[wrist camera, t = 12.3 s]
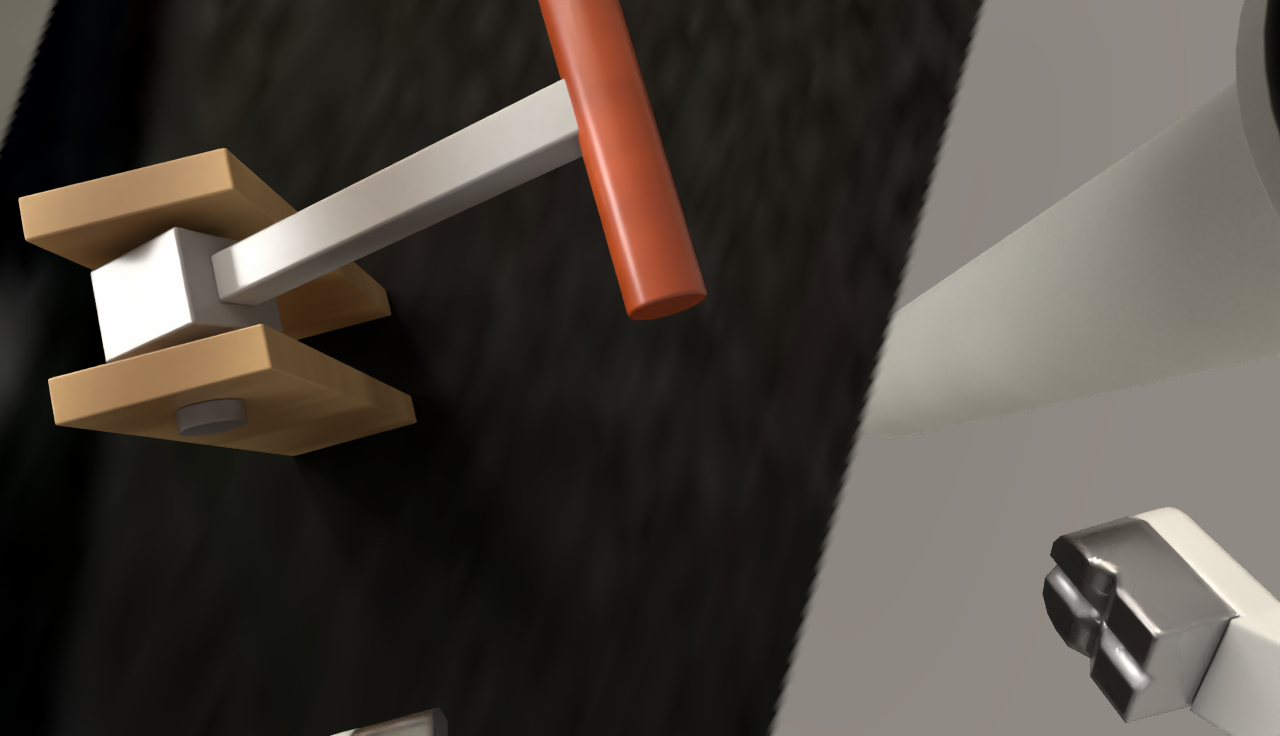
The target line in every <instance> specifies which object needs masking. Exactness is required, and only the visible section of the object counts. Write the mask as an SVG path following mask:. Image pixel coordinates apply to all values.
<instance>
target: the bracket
mask: <svg viewBox="0 0 1280 736" xmlns="http://www.w3.org/2000/svg"><path fill="white" fill-rule="evenodd" d="M19 205H20V211H21V217H22V223H23V229H24V235H25V239H26V241H28V242H30V243H32V244H35V245H37V246H39V247H42V248H44V249H46V250H48V251H51V252H53V253H55V254H58V255H60V256H62V257H65V258H67V259H69V260H72V261H74V262H76V263H78V264H81V265H83V266H85V267H88V268H90V269H92V270H95V269H97V268H99V267H100V266H102V265H104V264H106V263H108V262H110V261H112V260H114V259H116V258H117V257H119V256H121V255H123V254H125V253H127V252H129V251H131V250H132V249H134V248H136V247H138V246H140V245H142V244H144V243H146V242H148V241H149V240H151V239H153V238H155V237H157V236H159V235H161V234H163V233H164V232H166V231H168V230H170V229H172V228H174V227H178V228H183V229H187V230H191V231H196V232H200V233H205V234H209V235H213V236H218V237H222V238H227V239H231V240H235V241H242V240H244V239H246V238H247V237H249V236H251V235H253V234H255V233H257V232H259V231H261V230H263V229H265V228H267V227H269V226H271V225H273V224H275V223H277V222H279V221H281V220H283V219H285V218H287V217H289V216H291V215H293V214H295V213H297V211H296V210H295V209H294V208H293V207H291V206H290V205H289V204H288V203H287V202H286V201H285V200H284V199H282V198H281V197H280V196H279V195H278V194H277V193H276V192H275V191H273V190H272V189H271V188H270V187H269V186H268V185H267V184H265V183H264V182H263V181H262V180H261V179H260V178H259V177H258V176H256V175H255V174H254V173H253V172H252V171H251V170H250V169H249V168H247V167H246V166H245V165H244V164H243V163H242V162H241V161H240V160H238V159H237V158H236V157H235V156H234V155H233V154H232V153H231V152H229V151H228V150H227V149H226V148H222V149H218V150H214V151H210V152H205V153H201V154H197V155H193V156H189V157H185V158H181V159H177V160H173V161H169V162H164V163H160V164H156V165H152V166H148V167H144V168H140V169H136V170H132V171H128V172H124V173H119V174H115V175H111V176H107V177H103V178H99V179H95V180H91V181H87V182H83V183H78V184H74V185H70V186H66V187H62V188H58V189H54V190H50V191H46V192H42V193H38V194H33V195H29V196H25V197H21V198H19ZM276 300H277V305H278V310H279V314H280V319H281V324H282V329H283V332H282V333H280V332H278V331H276V330H274V329H272V328H270V327H268V326H266V325H264V324H258V325H254V326H250V327H246V328H242V329H239V330H235V331H231V332H227V333H223V334H219V335H215V336H212V337H208V338H204V339H200V340H196V341H192V342H189V343H185V344H181V345H177V346H173V347H169V348H165V349H162V350H158V351H154V352H150V353H146V354H142V355H138V356H135V357H131V358H127V359H123V360H119V361H115V362H112V363H108V364H104V365H100V366H96V367H92V368H88V369H85V370H81V371H77V372H73V373H69V374H65V375H62V376H58V377H54V378H50V379H49V381H48V382H49V388H50V394H51V400H52V406H53V412H54V418H55V423H56V425H60V426H68V427H75V428H83V429H91V430H98V431H106V432H114V433H121V434H129V435H137V436H144V437H152V438H160V439H167V440H175V441H183V442H190V443H198V444H206V445H213V446H221V447H229V448H236V449H244V450H252V451H260V452H267V453H275V454H283V455H290V456H296V455H299V454H303V453H307V452H310V451H314V450H318V449H322V448H325V447H329V446H333V445H336V444H340V443H344V442H347V441H351V440H355V439H358V438H362V437H366V436H369V435H373V434H377V433H380V432H384V431H388V430H391V429H395V428H399V427H402V426H406V425H410V424H413V423H416V422H417V421H416V416H415V412H414V408H413V404H412V399H411V396H409V395H407V394H405V393H403V392H401V391H399V390H397V389H395V388H393V387H391V386H389V385H387V384H385V383H383V382H381V381H379V380H377V379H375V378H373V377H371V376H368V375H366V374H364V373H362V372H360V371H358V370H356V369H354V368H352V367H350V366H348V365H346V364H344V363H342V362H340V361H338V360H336V359H334V358H332V357H330V356H327V355H325V354H323V353H321V352H319V351H317V350H315V349H313V348H311V347H309V346H307V345H305V344H303V343H301V342H299V341H297V340H298V339H302V338H306V337H310V336H314V335H317V334H321V333H325V332H329V331H333V330H336V329H340V328H344V327H348V326H352V325H355V324H359V323H363V322H367V321H371V320H375V319H378V318H382V317H386V316H390V315H391V310H390V306H389V302H388V298H387V293H386V290H385V289H384V288H383V287H382V286H381V285H379V284H378V283H377V282H376V281H375V280H374V279H373V278H371V277H370V276H369V275H368V274H367V273H366V272H365V271H364V270H362V269H361V268H360V267H359V266H358V265H357V264H356V263H355V262H351V263H348V264H346V265H344V266H342V267H340V268H337V269H335V270H333V271H331V272H329V273H327V274H324V275H322V276H320V277H318V278H316V279H314V280H311V281H309V282H307V283H305V284H303V285H300V286H298V287H296V288H294V289H292V290H290V291H287V292H285V293H283V294H281V295H279V296H276Z"/></svg>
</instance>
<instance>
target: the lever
mask: <svg viewBox="0 0 1280 736" xmlns="http://www.w3.org/2000/svg"><path fill="white" fill-rule="evenodd" d="M539 4H540V7H541V11H542V15H543V18H544V22H545V25H546V29H547V32H548V36H549V39H550V43H551V46H552V50H553V53H554V57H555V60H556V64H557V67H558V71H559V74H560V78H561V80H560V81H558V82H556V83H554V84H552V85H550V86H548V87H546V88H544V89H542V90H540V91H538V92H536V93H534V94H532V95H530V96H528V97H526V98H524V99H522V100H520V101H518V102H516V103H514V104H512V105H510V106H508V107H506V108H504V109H502V110H500V111H498V112H496V113H494V114H492V115H490V116H488V117H486V118H484V119H482V120H480V121H479V122H477V123H475V124H473V125H471V126H469V127H467V128H465V129H463V130H461V131H459V132H457V133H455V134H453V135H451V136H449V137H447V138H445V139H443V140H441V141H439V142H437V143H435V144H433V145H431V146H429V147H427V148H425V149H423V150H421V151H419V152H417V153H415V154H413V155H411V156H409V157H407V158H405V159H403V160H401V161H399V162H397V163H395V164H393V165H391V166H389V167H387V168H385V169H383V170H381V171H379V172H377V173H375V174H373V175H371V176H369V177H367V178H365V179H363V180H361V181H359V182H357V183H355V184H353V185H351V186H349V187H347V188H345V189H343V190H341V191H339V192H337V193H335V194H333V195H331V196H329V197H327V198H325V199H323V200H321V201H319V202H317V203H315V204H313V205H311V206H309V207H307V208H305V209H303V210H301V211H299V212H297V213H295V214H293V215H291V216H289V217H287V218H285V219H283V220H281V221H279V222H277V223H275V224H273V225H271V226H269V227H267V228H265V229H263V230H261V231H259V232H257V233H255V234H253V235H251V236H249V237H247V238H246V239H244V240H242V241H235V240H231V239H227V238H222V237H218V236H213V235H209V234H205V233H200V232H196V231H191V230H187V229H183V228H178V227H174V228H172V229H170V230H168V231H166V232H164V233H163V234H161V235H159V236H157V237H155V238H153V239H151V240H149V241H148V242H146V243H144V244H142V245H140V246H138V247H136V248H134V249H132V250H131V251H129V252H127V253H125V254H123V255H121V256H119V257H117V258H116V259H114V260H112V261H110V262H108V263H106V264H104V265H102V266H100V267H99V268H97V269H95V270H93V271H92V272H91V279H92V284H93V290H94V296H95V301H96V307H97V313H98V318H99V324H100V330H101V335H102V341H103V347H104V352H105V358H106V362H107V363H112V362H115V361H119V360H123V359H127V358H131V357H135V356H138V355H142V354H146V353H150V352H154V351H158V350H162V349H165V348H169V347H173V346H177V345H181V344H185V343H189V342H192V341H196V340H200V339H204V338H208V337H212V336H215V335H219V334H223V333H227V332H231V331H235V330H239V329H242V328H246V327H250V326H254V325H258V324H264V325H266V326H268V327H270V328H272V329H274V330H276V331H278V332H280V333H282V332H283V329H282V324H281V319H280V314H279V310H278V305H277V300H276V296H279V295H281V294H283V293H285V292H287V291H290V290H292V289H294V288H296V287H298V286H300V285H303V284H305V283H307V282H309V281H311V280H314V279H316V278H318V277H320V276H322V275H324V274H327V273H329V272H331V271H333V270H335V269H337V268H340V267H342V266H344V265H346V264H348V263H351V262H353V261H355V260H357V259H359V258H361V257H364V256H366V255H368V254H370V253H372V252H375V251H377V250H379V249H381V248H383V247H385V246H388V245H390V244H392V243H394V242H396V241H398V240H401V239H403V238H405V237H407V236H409V235H412V234H414V233H416V232H418V231H420V230H422V229H425V228H427V227H429V226H431V225H433V224H436V223H438V222H440V221H442V220H444V219H446V218H449V217H451V216H453V215H455V214H457V213H459V212H462V211H464V210H466V209H468V208H470V207H473V206H475V205H477V204H479V203H481V202H483V201H486V200H488V199H490V198H492V197H494V196H497V195H499V194H501V193H503V192H505V191H507V190H510V189H512V188H514V187H516V186H518V185H520V184H523V183H525V182H527V181H529V180H531V179H534V178H536V177H538V176H540V175H542V174H544V173H547V172H549V171H551V170H553V169H555V168H558V167H560V166H562V165H564V164H566V163H568V162H571V161H573V160H575V159H577V158H579V157H581V156H583V159H584V162H585V166H586V169H587V173H588V177H589V180H590V184H591V187H592V191H593V194H594V198H595V201H596V205H597V208H598V212H599V215H600V219H601V222H602V226H603V229H604V233H605V236H606V240H607V243H608V247H609V250H610V254H611V258H612V261H613V265H614V268H615V272H616V275H617V279H618V282H619V286H620V289H621V293H622V296H623V300H624V303H625V307H626V310H627V314H628V316H629V317H630V318H631V319H633V320H649V319H655V318H660V317H664V316H668V315H671V314H675V313H678V312H680V311H683V310H686V309H688V308H690V307H692V306H694V305H696V304H698V303H699V302H701V301H702V300H703V299H704V298H705V297H706V294H707V291H706V287H705V284H704V281H703V277H702V274H701V271H700V267H699V264H698V261H697V257H696V254H695V251H694V247H693V244H692V241H691V237H690V234H689V231H688V227H687V224H686V221H685V218H684V214H683V211H682V208H681V204H680V201H679V198H678V194H677V191H676V188H675V184H674V181H673V178H672V174H671V171H670V168H669V164H668V161H667V158H666V154H665V151H664V148H663V145H662V141H661V138H660V135H659V131H658V128H657V125H656V121H655V118H654V115H653V111H652V108H651V105H650V101H649V98H648V95H647V91H646V88H645V85H644V81H643V78H642V75H641V72H640V68H639V65H638V62H637V58H636V55H635V52H634V48H633V45H632V42H631V38H630V35H629V32H628V28H627V25H626V22H625V18H624V15H623V12H622V8H621V5H620V2H619V0H539Z"/></svg>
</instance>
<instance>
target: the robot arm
mask: <svg viewBox="0 0 1280 736" xmlns="http://www.w3.org/2000/svg"><path fill="white" fill-rule="evenodd" d="M1050 556H1051V557H1052V558H1053V559H1054V561H1055V562H1056V563H1057V565H1056V566H1055V567H1054V569H1053V570H1052V571H1051V572H1050V573H1049V574H1048V575H1047V576H1046V577H1045V582H1044V589H1043V597H1044V601H1045V605H1046V609H1047V613H1048V615H1049V617H1050V619H1051V621H1052V623H1053V625H1054V627H1055V629H1056V631H1057V632H1058V633H1059V635H1060V636H1061V637H1062V639H1063V640H1064V642H1065V643H1066V644H1067V646H1068V647H1070V648H1072V649H1074V650H1076V651H1078V652H1080V653H1082V654H1083V655H1085V656H1087V657H1089V658H1090V676H1091V678H1092V679H1093V681H1094V682H1095V683H1096V685H1097V686H1098V687H1099V688H1100V690H1101V691H1102V692H1103V694H1104V695H1105V696H1106V698H1107V699H1108V700H1109V702H1110V703H1111V704H1112V705H1113V707H1114V708H1115V710H1116V711H1117V712H1118V714H1119V715H1120V716H1121V718H1122V719H1123V720H1124V722H1125V723H1128V722H1132V721H1136V720H1140V719H1143V718H1147V717H1151V716H1155V715H1159V714H1162V713H1167V712H1170V711H1174V710H1178V709H1182V708H1185V707H1190V706H1191V709H1190V711H1192V712H1193V713H1195V714H1196V715H1198V716H1200V717H1201V718H1203V719H1204V720H1206V721H1207V722H1209V723H1211V724H1212V725H1214V726H1215V727H1217V728H1219V729H1220V730H1222V731H1223V732H1225V733H1226V734H1228V735H1230V736H1280V602H1279V601H1278V600H1277V599H1276V598H1275V597H1274V596H1273V595H1272V594H1271V593H1270V592H1269V591H1268V590H1266V589H1265V588H1264V587H1263V586H1262V585H1261V584H1260V583H1259V582H1258V581H1257V580H1256V579H1255V578H1254V577H1252V575H1250V574H1249V573H1248V572H1247V571H1246V570H1245V569H1244V568H1243V567H1242V566H1241V565H1239V563H1237V561H1235V560H1234V559H1233V558H1232V557H1231V556H1230V555H1229V554H1228V553H1227V552H1226V551H1225V550H1224V549H1223V548H1222V547H1220V546H1219V545H1218V544H1217V543H1216V542H1215V541H1214V540H1213V539H1212V538H1211V537H1210V536H1209V535H1207V533H1205V532H1204V531H1203V530H1202V529H1201V528H1200V527H1199V526H1198V525H1197V524H1196V523H1195V522H1194V521H1192V519H1191V518H1189V517H1188V516H1187V515H1186V514H1185V513H1184V512H1182V511H1180V510H1178V509H1176V508H1174V507H1163V508H1159V509H1155V510H1152V511H1149V512H1145V513H1142V514H1138V515H1135V516H1131V517H1124V518H1121V519H1117V520H1114V521H1110V522H1107V523H1104V524H1100V525H1097V526H1093V527H1090V528H1087V529H1083V530H1080V531H1076V532H1073V533H1070V534H1066V535H1063V536H1060V537H1059V538H1058V539H1057V540H1056V541H1054V542H1053V546H1052V550H1051V554H1050ZM332 736H448V720H447V719H446V717H445V716H444V714H443V713H442V711H441V709H440V708H439V707H438V708H435V709H431V710H427V711H423V712H420V713H416V714H412V715H408V716H405V717H401V718H397V719H393V720H390V721H386V722H382V723H378V724H375V725H371V726H367V727H363V728H358V729H353V730H350V731H346V732H343V733H339V734H335V735H332Z"/></svg>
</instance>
